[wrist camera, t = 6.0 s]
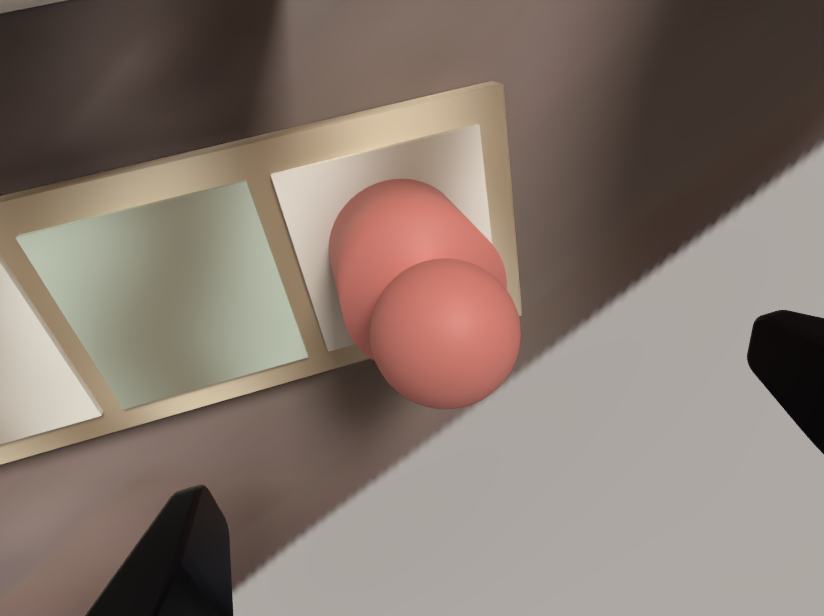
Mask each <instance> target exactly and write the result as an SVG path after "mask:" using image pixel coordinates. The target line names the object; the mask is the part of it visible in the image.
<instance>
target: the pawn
mask: <svg viewBox="0 0 824 616" xmlns="http://www.w3.org/2000/svg"><path fill="white" fill-rule="evenodd" d="M329 257H330V262H331V267H332V271H333V275H334V280H335V284H336V288H337V292H338V297H339V301H340V305H341V310H342V314H343V318H344V323H345V326H346V328H347V331H348V333H349V335H350V337H351V339H352V340H353V342H354V343H355V344H356V346H357V347H358V348H359V349H360V350H361V351H362V352H363V353H364V354H365V355H367V356H368V357H369V358H371V359H372V360H374V361H375V362H376V364H377V366H378V368H379V370H380V372H381V374H382V375H383V376H384V378H385V379H386V380H387V382H388V383H389V384H390V385H391V386H392V387H393V388H394V389H395V390H396V391H397V392H398V393H399V394H401V395H402V396H404V397H405V398H407V399H409V400H411V401H413V402H415V403H417V404H420V405H423V406H426V407H430V408H436V409H455V408H461V407H465V406H469V405H472V404H475V403H477V402H479V401H481V400H483V399H484V398H486V397H488V396H489V395H490V394H492V393H493V392H494V391H495V390H496V389H497V388H498V387H499V386H500V385H501V384H502V383H503V382H504V381H505V379H506V378H507V377H508V375H509V374H510V372H511V370H512V369H513V366H514V364H515V362H516V359H517V356H518V353H519V348H520V340H521V327H520V321H519V315H518V312H517V309H516V306H515V304H514V302H513V300H512V298H511V296H510V294H509V293H508V291H507V277H506V271H505V267H504V264H503V261H502V259H501V257H500V255H499V253H498V251H497V250H496V249H495V247H494V246H493V244H492V243H491V242H490V241H489V240H488V239H487V238H486V237H485V236H484V235H483V234H482V233H481V232H480V231H479V230H478V229H477V228H476V227H475V226H474V225H473V224H472V223H471V222H470V220H469V219H468V218H467V217H466V216H465V215H464V214H463V213H462V212H461V211H460V210H459V209H458V208H457V207H456V206H455V205H454V204H453V203H452V202H451V201H450V200H449V199H448V198H447V197H446V196H445V195H444V194H443V193H442V192H440V191H439V190H438V189H436V188H434V187H433V186H431V185H429V184H426V183H424V182H421V181H416V180H412V179H392V180H386V181H382V182H379V183H376V184H373V185H371V186H369V187H367V188H365V189H364V190H362V191H360V192H359V193H358V194H356V195H355V196H354V197H353V198H351V199H350V200H349V202H348V203H347V204H346V205H345V206H344V207H343V209H342V210H341V211H340V213H339V214H338V216H337V218H336V220H335V222H334V225H333V227H332V230H331V234H330V239H329Z"/></svg>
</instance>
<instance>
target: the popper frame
mask: <svg viewBox="0 0 824 616" xmlns="http://www.w3.org/2000/svg"><path fill="white" fill-rule="evenodd" d="M62 1H67V0H0V14H1V13H6V12H11V11H16V10H21V9H26V8H31V7H36V6H41V5H46V4H51V3H57V2H62Z"/></svg>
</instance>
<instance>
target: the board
mask: <svg viewBox="0 0 824 616" xmlns="http://www.w3.org/2000/svg"><path fill="white" fill-rule="evenodd" d="M392 179H412V180H416V181H421V182H424V183H426V184H429V185H431V186H433V187H434V188H436V189H438V190H439V191H440V192H442V193H443V194H444V195H445V196H446V197H447V198H448V199H449V200H450V201H451V202H452V203H453V204H454V205H455V206H456V207H457V208H458V209H459V210H460V211H461V212H462V213H463V214H464V215H465V216H466V217H467V218H468V219H469V220H470V222H471V223H472V224H473V225H474V226H475V227H476V228H477V229H478V230H479V231H480V232H481V233H482V234H483V235H484V236H485V237H486V238H487V239H488V240H489V241H490V242H491V243H492V244H493V246H494V247H495V249H496V250H497V251H498V253H499V255H500V257H501V259H502V261H503V264H504V267H505V271H506V277H507V291H508V293H509V294H510V296H511V298H512V300H513V302H514V304H515V306H516V309H517V312H518V315H519V316H520V315H522V309H521V297H520V284H519V272H518V259H517V247H516V235H515V222H514V210H513V197H512V185H511V173H510V160H509V148H508V135H507V123H506V111H505V98H504V86H503V84H501V83H498V82H494V81H489V82H485V83H481V84H476V85H472V86H468V87H464V88H459V89H455V90H451V91H447V92H442V93H438V94H434V95H429V96H425V97H421V98H417V99H412V100H408V101H404V102H399V103H395V104H391V105H387V106H382V107H378V108H374V109H370V110H365V111H361V112H357V113H352V114H348V115H344V116H340V117H335V118H331V119H327V120H322V121H318V122H314V123H310V124H305V125H301V126H297V127H293V128H288V129H284V130H280V131H275V132H271V133H267V134H263V135H258V136H254V137H250V138H246V139H241V140H237V141H233V142H228V143H224V144H220V145H216V146H211V147H207V148H203V149H198V150H194V151H190V152H186V153H181V154H177V155H173V156H169V157H164V158H160V159H156V160H151V161H147V162H143V163H139V164H134V165H130V166H126V167H121V168H117V169H113V170H109V171H104V172H100V173H96V174H92V175H87V176H83V177H79V178H74V179H70V180H66V181H62V182H57V183H53V184H49V185H44V186H40V187H36V188H32V189H27V190H23V191H19V192H15V193H10V194H6V195H2V196H0V465H1V464H4V463H8V462H11V461H15V460H18V459H22V458H25V457H29V456H32V455H36V454H39V453H43V452H46V451H50V450H53V449H57V448H60V447H64V446H67V445H71V444H74V443H78V442H81V441H85V440H88V439H92V438H95V437H99V436H102V435H105V434H109V433H112V432H116V431H119V430H123V429H126V428H130V427H133V426H137V425H140V424H144V423H147V422H151V421H154V420H158V419H161V418H165V417H168V416H172V415H175V414H179V413H182V412H186V411H189V410H193V409H196V408H200V407H203V406H207V405H210V404H214V403H217V402H220V401H224V400H227V399H231V398H234V397H238V396H241V395H245V394H248V393H252V392H255V391H259V390H262V389H266V388H269V387H273V386H276V385H280V384H283V383H287V382H290V381H294V380H297V379H301V378H304V377H308V376H311V375H315V374H318V373H322V372H325V371H329V370H332V369H336V368H339V367H342V366H346V365H349V364H353V363H356V362H360V361H363V360H367V359H370V358H369V357H368V356H367V355H365V354H364V353H363V352H362V351H361V350H360V349H359V348H358V347H357V346H356V344H355V343H354V342H353V340H352V339H351V337H350V335H349V333H348V331H347V328H346V326H345V323H344V318H343V314H342V310H341V305H340V301H339V297H338V292H337V288H336V284H335V280H334V275H333V271H332V267H331V262H330V257H329V239H330V234H331V230H332V227H333V225H334V222H335V220H336V218H337V216H338V214H339V213H340V211H341V210H342V209H343V207H344V206H345V205H346V204H347V203H348V202H349V200H350V199H351V198H353V197H354V196H355V195H356V194H358V193H359V192H360V191H362V190H364V189H365V188H367V187H369V186H371V185H373V184H376V183H379V182H382V181H386V180H392Z"/></svg>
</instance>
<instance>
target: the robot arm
mask: <svg viewBox="0 0 824 616" xmlns="http://www.w3.org/2000/svg"><path fill="white" fill-rule="evenodd" d="M747 360H748V364H749V366H750V368H751V370H752V371H753V373H754V374H755V375H756V376H757V377H758V379H759V380H760V381H761V382H762V383H763V384H764V386H765V387H766V388H767V389H768V390H769V392H770V393H771V394H772V395H773V396H774V398H776V400H777V401H778V402H779V403H780V405H781V406H782V407H783V408H784V409H785V411H786V412H787V413H788V414H789V415H790V417H791V418H792V419H793V420H794V421H795V423H796V424H797V425H798V426H799V427H800V428H801V430H802V431H803V432H804V433H805V434H806V436H807V437H808V438H809V439H810V440H811V441H812V442H813V443H814V445H815V446H816V447H817V448H818V449H819V450H820V451H821V452H822V453H823V454H824V318H820V317H815V316H811V315H806V314H801V313H797V312H792V311H788V310H779V311H775V312H772V313H768V314H765V315H762V316H760V317H758V318H757V319H756V320H755V322H754V324H753V329H752V333H751V339H750V343H749V348H748V353H747ZM85 616H233V603H232V582H231V562H230V541H229V530H228V525H227V522H226V519H225V517H224V515H223V514H222V512H221V510H220V508H219V507H218V505H217V503H216V501H215V500H214V498H213V496H212V494H211V493H210V491H209V490H208V488H207V487H206V486H204V485H197V486H193V487H190V488H187V489H183V490H180V491H178V492H176V493H174V494H173V495H172V496H171V498H170V499H169V500H168V502H167V503H166V504H165V506H164V507H163V509H162V510H161V511H160V513H159V514H158V515H157V517H156V518H155V520H154V521H153V522H152V524H151V525H150V527H149V528H148V529H147V531H146V532H145V533H144V535H143V536H142V538H141V539H140V540H139V542H138V543H137V545H136V546H135V547H134V549H133V550H132V551H131V553H130V554H129V556H128V557H127V558H126V560H125V561H124V563H123V564H122V565H121V567H120V568H119V569H118V571H117V572H116V574H115V575H114V576H113V578H112V579H111V580H110V582H109V583H108V585H107V586H106V587H105V589H104V590H103V592H102V593H101V594H100V596H99V597H98V598H97V600H96V601H95V603H94V604H93V605H92V607H91V608H90V610H89V611H88V612H87V614H86V615H85Z"/></svg>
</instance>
